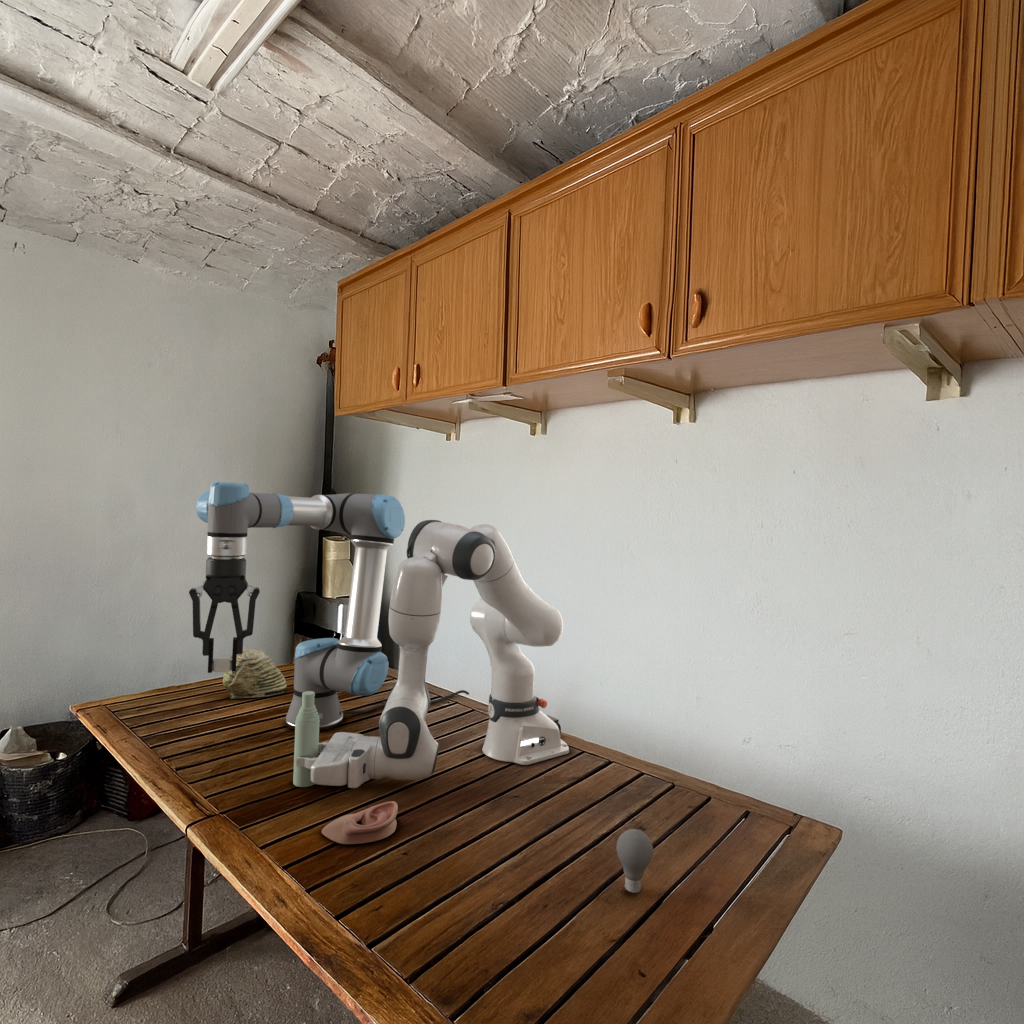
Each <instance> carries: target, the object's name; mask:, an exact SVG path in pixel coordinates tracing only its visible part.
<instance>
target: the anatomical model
mask: <svg viewBox="0 0 1024 1024" xmlns="http://www.w3.org/2000/svg"><path fill="white" fill-rule="evenodd" d="M398 809H399V806H398V803H397V802H396V801H393V800H392V801H391V800H390V801H385V802H381V803H378V804H376V805H372V806H370V807H368V808H365V809H363V810H360V811H358V812H355V813H350V814H344V815H342V816H340V817H338V818H336V819H334V820H332V821H331V822H329V823H327V824H326V825H325V826H323V828H322V829H321V834H322V835H323V836H324V837H325V838H327V839H328V840H331V841H333V842H335V843H337V844H341V845H357V844H358V845H359V844H367V843H372V842H377V841H380V840H384V839H385V838H388V837H389V836H391V835H392V834H393V833H395V831H396V829H397V826H398V823H397V820H396V819H397V815H398V812H399V811H398Z"/></svg>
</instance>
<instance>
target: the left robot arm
mask: <svg viewBox="0 0 1024 1024" xmlns="http://www.w3.org/2000/svg"><path fill="white" fill-rule="evenodd" d="M195 512H196V515H197V517H198V518H199V520H201V521H202V522H204V523H206V524H207V532H206V533H207V536H206V555H207V556H208V557H207V559H206V560H205V579H204V581H203V582H202V585H199V586H196V587H191V588H190V589H189V591H188V595H189V597H190V599H191V601H192V636H193V638H197V639H200V640H201V641H202V652H201V653H202V656H203V657H207V656H208V657H207V674H212V673H213V671H212V662H213V659H214V649H215V648H214V644H215V641H214V640H215V638H214V637H211V634H212V630H213V626H214V621H215V618H216V614H217V610H218V606H219V604H221V603H227V604H230V606H231V611H232V617H233V623H234V629H235V634H236V636H233V637H232V653H231V655H232V672H234V671H236V658H237V654H242V652H243V647H244V639H245V638H247V637H251V636H252V635H253V634H254V624H255V613H256V602H257V599H258V597H259V595H260V592H261V590H260V587H258V586H252V585H250V584H249V583H248V581H247V579H246V577H247V576H246V573H247V559H246V558H245V557H246V555H247V553H248V552H247V551H248V531H249V529H250V528H252V529H253V528H257V529H258V528H259V529H261V528H263V529H265V528H271V529H277V528H282V527H286V526H296V527H297V526H298V527H299V526H300V527H310V528H312V529H314V530H316V531H317V530H318V531H320V530H321V531H328V532H334V533H339V534H344V535H350V542H351V543H352V545H353V546H354V556H353V564H352V573H351V579H350V580H351V581H350V591H349V597H348V606H347V613H346V622H345V630H344V636H342V638H340V639H339V638H335V637H322V638H313V639H308V640H304V641H302V642H299V643H298V644H297V645H296V647H295V652H294V653H295V654H294V657H293V662H294V663H293V665H294V666H293V695H292V696H293V697H292V699H291V702H290V704H289V708H288V711H287V713H286V715H285V726H286V728H287V729H289V730H291V731H295V721H296V717H297V716H298V713H299V710H300V709H301V706H302V694H303V692H306V691H313V692H315V697H314V705H315V706H316V707H315V708H316V709H317V712H318V715H319V719H320V721H319V732H325V731H329V730H332V729H335V728H337V727H339V726H340V725H342V723H343V722H344V715H352V714H353V715H355V714H365V713H369V712H372V711H374V710H376V709H380V708H385V705H386V703H382V704H377V705H374V706H373V707H370V708H367V709H362V710H343V709H342V706H341V702H340V699H339V695H338V692H341V693H345V694H350V695H353V696H362V697H369V696H372V695H374V694H376V693H377V692H378V691H379V690H380V688H381V687H382V686H383V685H384V682H385V681H386V679H387V676H388V672H389V665H390V664H389V660H388V656H387V655H386V654H384V652H382V646H383V645H382V643H381V641H380V640H379V638H378V632H379V625H380V624H379V623H380V615H381V607H382V600H383V599H382V597H383V588H384V581H385V572H386V564H387V553H388V550H389V549H391V548H392V547H393V546H394V543H395V539H396V538H399V537H400V536H401V535H402V534H403V533H402V532H404V529H405V525H406V515H405V510H404V508H403V506H402V504H401V502H400V501H399V500H398V499H397V498H396V497H395V496H393V495H389V494H382V493H381V494H380V493H355V492H353V493H352V492H349V493H347V492H346V493H336V494H315V495H312V496H311V497H305V496H292V495H285V494H280V493H275V492H274V493H267V492H265V493H264V492H250V486H249V484H248V483H245V482H229V481H228V482H227V481H214V482H212V483H211V484H210V486H209V490H208V491H205V492H203V493H202V494H201V495H199V497H198V498H197V500H196V503H195ZM203 591H204V592H205V593H206V594H207V596H208V598H210V599H211V604H210V608H209V612H208V615H207V619H206V624H205V627H204V630H201V629H202V627H201V597H202V596H203ZM245 591H247V596H248V597H249V601H248V611H247V620H246V622H247V623H246V629H244V628H243V624H242V617H241V612H240V606H239V605H240V604H239V599H240V598H241V597H242V595H243V594H244V593H245ZM463 693H464V694H466V695H467V696H468V695H470V692H469V691H467V690H464V689H462V690H461V689H460V690H458V691H455V692H453V693H451V694H448V695H445V696H443V697H440V698H438V699H433V700H430V705H431V704H436V703H439V702H442V701H444V700H447V699H449V698H452V697H455V696H457V695H459V694H463Z"/></svg>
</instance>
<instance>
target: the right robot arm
mask: <svg viewBox="0 0 1024 1024" xmlns="http://www.w3.org/2000/svg"><path fill="white" fill-rule="evenodd" d="M448 575H449V576H453V577H458V578H459V579H462V580H464V581H465V580H466V581H473V583H474V586H475V587H476V590H477V592H478V594H479V597H480V598H479V599H478V600H476V601H475V602H474V604H473V605H472V608H471V610H470V614H469V623H470V626H471V628H472V631H473V632H474V633H476V635H477V636H478V637H479V638H480V640H481V641H482V644H484V647H485V649H486V652H487V654H488V658H489V662H490V675H491V676H490V679H491V681H490V685H491V686H490V694H489V696H488V708H487V711H488V714H487V715H488V722H487V730H486V734H485V738H484V741H483V745H482V748H481V751H482V753H483V754H484V755H485V756H487V757H489V758H491V759H493V760H497V761H501V762H509V763H515V764H518V765H522V766H528V765H532V764H536V763H539V762H540V763H541V762H544V761H547V760H550V759H553V758H557V757H561V756H564V755H568V754H569V753H570V748H569V745H568V744H567V743H566V742H565V741H564V740H563V739H562V738H561V736H562V727H561V724H560V723H559V718H556V717H553V716H551V715H549V714H546V713H544V712H543V711H541V709H540V708H542V709H546V708H547V707H548V701H547V700H545V699H544V698H539V697H538V696H537V695H535V681H536V680H535V679H536V669H535V666H534V664H533V661H531V660H530V659H529V658H528V657H527V656H525V654H524V653H523V652H522V650H521V647H520V645H522V646H526V647H527V646H529V647H534V648H537V647H538V648H539V647H540V648H543V647H552V646H554V645H555V644H556V643H558V641H559V640H560V638H561V637H562V634H563V631H564V620H563V616H562V614H561V612H560V610H559V609H558V608H556V607H555V606H552V605H551V604H549V603H547V602H546V601H545V600H544V599H542V598H541V596H539V595H538V594H537V593H536V592H534V590H533V589H532V588H531V587H530V586H529V585H528V584H527V582H526V581H525V580H524V578H523V576H522V574H521V572H520V569H519V567H518V565H517V562H516V560H515V559H514V556H513V553H512V551H511V549H510V547H509V545H508V544H507V542H506V540H505V538H504V537H503V535H502V533H500V531H499V530H498V529H497V528H496V527H495V526H493V525H490V524H488V523H487V524H485V523H482V524H477V525H474V526H472V527H471V528H468V527H466V526H462V525H460V524H457V523H456V524H454V523H450V522H445V521H444V522H443V521H441V520H438V519H426V520H422V521H419V522H418V523H417V524H416V525H415V526H414V528H413V529H412V530H411V533H410V535H409V538H408V541H407V548H406V559H404V560H403V561H402V562H401V563H400V564H399V565H398V568H397V570H396V573H395V577H394V580H393V584H392V588H391V593H390V600H389V606H388V632H389V636H390V638H391V639H392V641H393V642H394V643H395V644H396V645H398V646H399V663H398V672H397V679H396V681H395V683H394V685H393V686H392V687H391V690H390V692H389V693H388V697H387V700H386V703H385V704H386V705H385V707H383V710H382V712H381V715H380V717H379V720H378V731H379V732H378V733H379V736H370V735H364V734H363V733H362V734H361V733H356V732H348V731H347V732H346V731H339V732H338V731H337V732H335V733H334V734H333V735H332V736H331V738H330V739H329V741H323V742H319V747H318V758H313V759H312V758H307V756H299V757H298V759H297V764H296V765H297V766H300V767H306V768H308V769H310V770H311V782H313V783H315V784H314V785H320V786H331V787H342V786H345V785H347V788H349V789H357V788H359V787H360V786H361V785H362V784H364V783H366V782H368V781H370V780H380V779H385V778H386V779H391V780H395V781H418V780H426V779H428V778H430V777H431V776H432V775H433V774H434V773H435V769H436V766H437V761H438V757H439V753H440V752H439V751H440V745H439V742H437V741H436V739H435V738H434V736H433V735H432V733H431V731H430V730H429V727H428V725H427V721H426V718H427V715H428V713H429V711H430V708H431V704H430V701H431V695H430V693H429V689H428V686H427V682H426V671H427V663H428V653H429V649H430V647H431V645H432V643H433V642H434V641H435V639H436V635H437V632H438V629H439V625H440V620H441V615H442V605H443V587H444V585H445V582H446V580H447V578H448V577H449V576H448ZM560 733H561V734H560Z"/></svg>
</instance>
